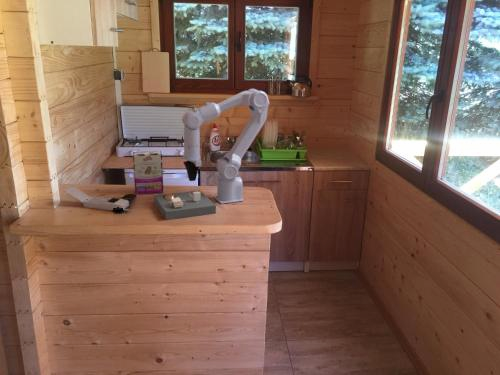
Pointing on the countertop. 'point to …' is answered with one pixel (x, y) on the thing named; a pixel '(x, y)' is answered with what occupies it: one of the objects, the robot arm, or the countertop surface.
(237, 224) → the countertop surface
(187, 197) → the panel
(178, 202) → the rocker switch
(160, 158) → the candy bar box
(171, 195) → the push button
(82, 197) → the white long dark-ended device
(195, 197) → the tan rectangular block
